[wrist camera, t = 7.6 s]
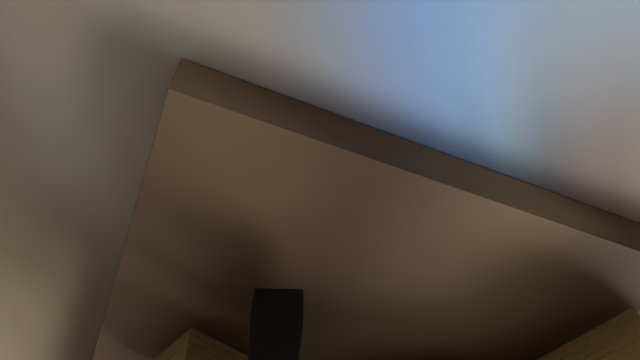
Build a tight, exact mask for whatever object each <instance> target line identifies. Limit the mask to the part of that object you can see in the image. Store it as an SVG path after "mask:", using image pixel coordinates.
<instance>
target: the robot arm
mask: <svg viewBox="0 0 640 360" xmlns="http://www.w3.org/2000/svg"><path fill="white" fill-rule="evenodd" d="M302 340H303V289H274V288H254V294H253V300H252V307H251V314H250V342H249V357H248V359H247V360H302Z"/></svg>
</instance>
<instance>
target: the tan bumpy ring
mask: <svg viewBox="0 0 640 360" xmlns="http://www.w3.org/2000/svg"><path fill="white" fill-rule="evenodd" d="M248 357H249V356H247V355H245V354H243V353H241V352H239V351H237V350H235V349H233V348H231V347H229V346H227V345H225V344H223V343H221V342H219V341H217V340H215V339H213V338H211V337H209V336H207V335H205V334H203V333H201V332H199V331H197V330H195V329H193V328H190V329H189V330H188V331H187V332H186V333H184V334H183V335H182V336H181V337H180V338H179V339H177V340H176V341H175V342H174V343H173V344H172V345H170V346H169V347H168V348H167V349H166V350H165V351H163V352H162V353H161V354H160V355H159V356H158V357H156V358H155V359H154V360H247V359H248ZM538 360H640V311H639V310H638V309H636V308H635V307H633V308H631V309H629V310H627V311H625V312H624V313H622V314H620V315H618V316H616V317H614V318H613V319H611V320H609V321H607V322H605V323H603V324H602V325H600V326H598V327H596V328H594V329H592V330H591V331H589V332H587V333H585V334H583V335H582V336H580V337H578V338H576V339H574V340H572V341H571V342H569V343H567V344H565V345H563V346H561V347H560V348H558V349H556V350H554V351H552V352H550V353H549V354H547V355H545V356H543V357H541V358H539V359H538Z"/></svg>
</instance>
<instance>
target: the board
mask: <svg viewBox="0 0 640 360" xmlns="http://www.w3.org/2000/svg"><path fill="white" fill-rule="evenodd" d="M254 288H274V289H303V340H302V360H538V359H539V358H541V357H543V356H545V355H547V354H549V353H550V352H552V351H554V350H556V349H558V348H560V347H561V346H563V345H565V344H567V343H569V342H571V341H572V340H574V339H576V338H578V337H580V336H582V335H583V334H585V333H587V332H589V331H591V330H592V329H594V328H596V327H598V326H600V325H602V324H603V323H605V322H607V321H609V320H611V319H613V318H614V317H616V316H618V315H620V314H622V313H624V312H625V311H627V310H629V309H631V308H633V307H635V308H636V309H638V310H639V311H640V224H639V223H636V222H633V221H630V220H628V219H625V218H622V217H619V216H617V215H614V214H611V213H608V212H605V211H603V210H600V209H597V208H594V207H592V206H589V205H586V204H583V203H580V202H578V201H575V200H572V199H569V198H567V197H564V196H561V195H558V194H556V193H553V192H550V191H547V190H544V189H542V188H539V187H536V186H533V185H531V184H528V183H525V182H522V181H520V180H517V179H514V178H511V177H508V176H506V175H503V174H500V173H497V172H495V171H492V170H489V169H486V168H483V167H481V166H478V165H475V164H472V163H470V162H467V161H464V160H461V159H459V158H456V157H453V156H450V155H447V154H445V153H442V152H439V151H436V150H434V149H431V148H428V147H425V146H422V145H420V144H417V143H414V142H411V141H409V140H406V139H403V138H400V137H398V136H395V135H392V134H389V133H386V132H384V131H381V130H378V129H375V128H373V127H370V126H367V125H364V124H362V123H359V122H356V121H353V120H350V119H348V118H345V117H342V116H339V115H337V114H334V113H331V112H328V111H325V110H323V109H320V108H317V107H314V106H312V105H309V104H306V103H303V102H301V101H298V100H295V99H292V98H289V97H287V96H284V95H281V94H278V93H276V92H273V91H270V90H267V89H264V88H262V87H259V86H256V85H253V84H251V83H248V82H245V81H242V80H240V79H237V78H234V77H231V76H228V75H226V74H223V73H220V72H217V71H215V70H212V69H209V68H206V67H204V66H201V65H198V64H195V63H192V62H190V61H187V60H184V59H182V60H181V62H180V64H179V66H178V69H177V71H176V73H175V75H174V78H173V80H172V82H171V84H170V87H169V89H168V92H167V96H166V99H165V103H164V107H163V110H162V114H161V117H160V121H159V124H158V128H157V131H156V135H155V138H154V142H153V146H152V149H151V153H150V156H149V160H148V163H147V167H146V170H145V174H144V177H143V181H142V185H141V188H140V192H139V195H138V199H137V202H136V206H135V209H134V213H133V216H132V220H131V224H130V227H129V231H128V234H127V238H126V241H125V245H124V248H123V252H122V256H121V259H120V263H119V266H118V270H117V273H116V277H115V280H114V284H113V287H112V291H111V295H110V298H109V302H108V305H107V309H106V312H105V316H104V319H103V323H102V326H101V330H100V334H99V337H98V341H97V344H96V348H95V351H94V355H93V358H92V360H154V359H155V358H156V357H158V356H159V355H160V354H161V353H162V352H163V351H165V350H166V349H167V348H168V347H169V346H170V345H172V344H173V343H174V342H175V341H176V340H177V339H179V338H180V337H181V336H182V335H183V334H184V333H186V332H187V331H188V330H189V329H190V328H193V329H195V330H197V331H199V332H201V333H203V334H205V335H207V336H209V337H211V338H213V339H215V340H217V341H219V342H221V343H223V344H225V345H227V346H229V347H231V348H233V349H235V350H237V351H239V352H241V353H243V354H245V355H247V356H249V342H250V314H251V307H252V300H253V294H254Z"/></svg>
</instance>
